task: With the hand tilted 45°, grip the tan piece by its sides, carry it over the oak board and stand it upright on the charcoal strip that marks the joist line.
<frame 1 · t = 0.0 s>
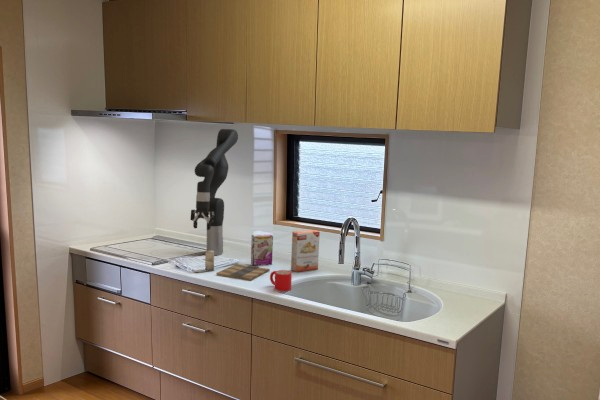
hand: (201, 229, 299), 17 cm above the worktop, tool pointing down, fingers open, 8 cm apart
cracker box: (304, 269, 285), on the worktop
mug: (279, 288, 253), on the worktop
tan piece: (209, 270, 279), on the worktop
oak board: (243, 273, 275), on the worktop
candy bar box: (261, 264, 293), on the worktop
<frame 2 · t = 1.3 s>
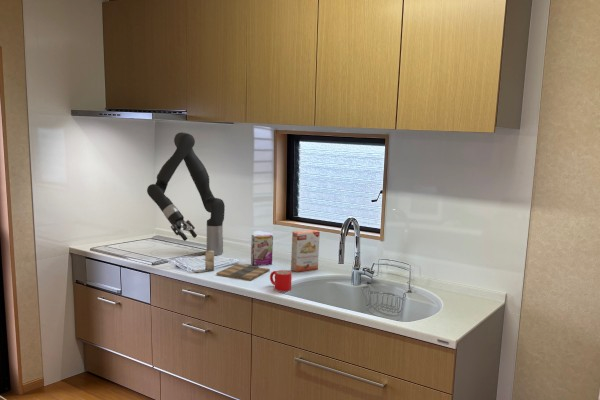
hand: (191, 238, 281), 16 cm above the worktop, tool tilted 45°, fingers open, 8 cm apart
nothing on the worktop moved.
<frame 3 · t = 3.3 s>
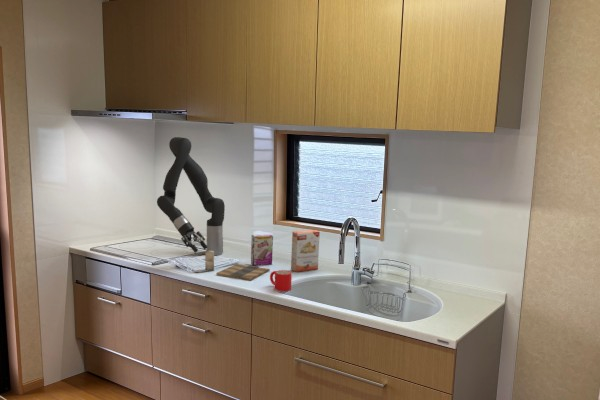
hand: (201, 249, 279), 10 cm above the worktop, tool tilted 45°, fingers open, 8 cm apart
nothing on the worktop moved.
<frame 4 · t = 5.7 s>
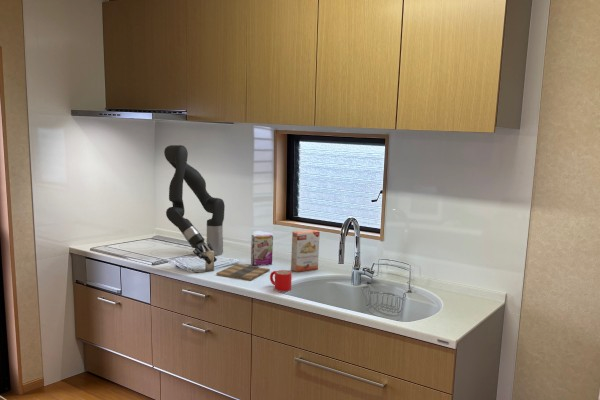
hand: (212, 262, 277), 5 cm above the worktop, tool tilted 45°, fingers closed on tan piece, 4 cm apart
tan piece: (209, 270, 279), on the worktop, touching gripper
everything else where it was.
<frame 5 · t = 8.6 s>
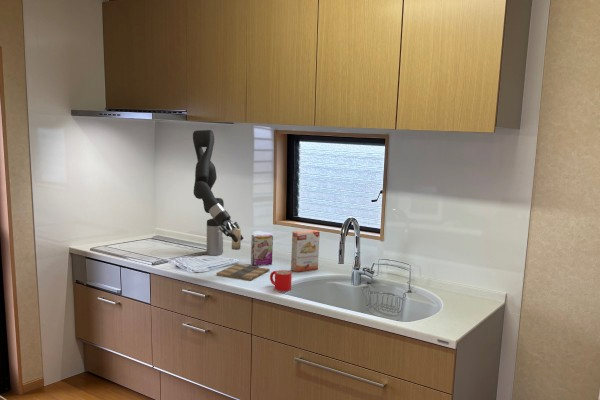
hand: (239, 240, 268), 18 cm above the worktop, tool tilted 45°, fingers closed on tan piece, 4 cm apart
tan piece: (236, 248, 269), point 14 cm above the worktop, touching gripper
everything else where it was.
when the fingers open (7 cm above the worktop, at t = 11.7 s): tan piece stays where it is, resting on oak board.
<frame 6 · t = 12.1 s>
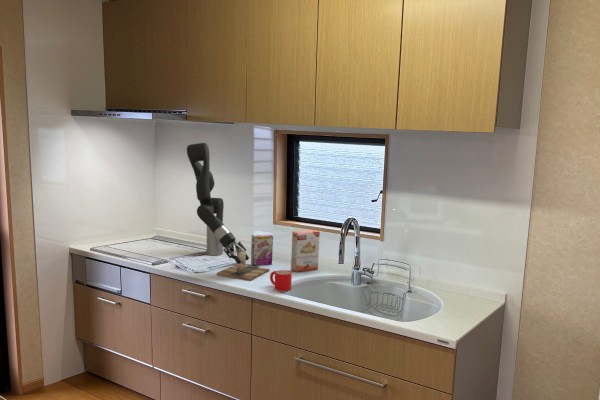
hand: (243, 261, 269), 8 cm above the worktop, tool tilted 45°, fingers open, 7 cm apart
tan piece: (241, 272, 271), point 1 cm above the worktop, touching oak board
everything else where it was.
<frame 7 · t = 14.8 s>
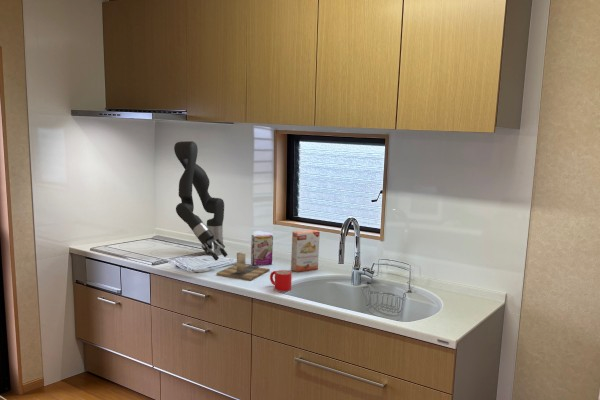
hand: (221, 257, 275), 8 cm above the worktop, tool tilted 45°, fingers open, 8 cm apart
nothing on the worktop moved.
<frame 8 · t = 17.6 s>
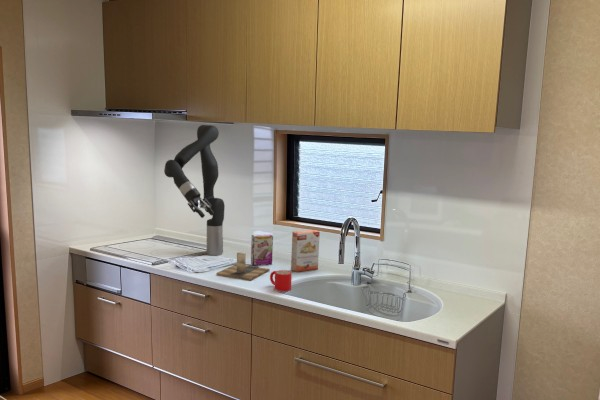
hand: (208, 215, 276), 29 cm above the worktop, tool tilted 45°, fingers open, 8 cm apart
nothing on the worktop moved.
at the end: tan piece inside the target area (0.1 cm from its centre), point 1.4 cm above the worktop; tan piece tilted 1°; the gripper is holding nothing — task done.
